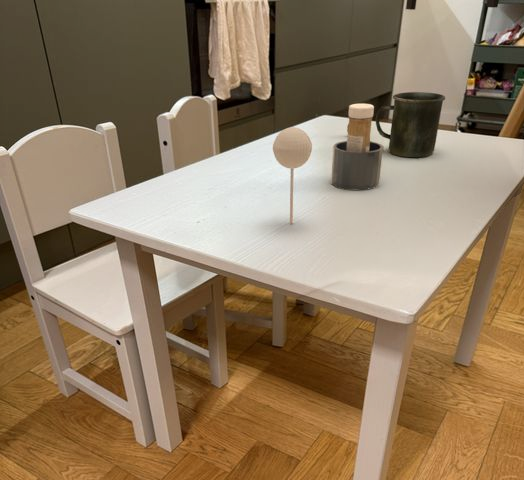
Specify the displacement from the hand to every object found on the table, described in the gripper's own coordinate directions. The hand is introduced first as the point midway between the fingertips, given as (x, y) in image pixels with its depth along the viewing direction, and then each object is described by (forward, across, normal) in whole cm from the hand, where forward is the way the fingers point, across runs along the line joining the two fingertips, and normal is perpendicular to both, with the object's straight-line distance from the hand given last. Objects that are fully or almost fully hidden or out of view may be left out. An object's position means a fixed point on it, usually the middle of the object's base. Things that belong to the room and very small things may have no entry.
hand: (451, 8), depth 82 cm
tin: (+29, +13, -2) cm, 32 cm away
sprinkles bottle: (+28, +13, -2) cm, 31 cm away
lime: (+29, +5, -39) cm, 49 cm away
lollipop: (+29, +28, +18) cm, 44 cm away
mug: (+29, -3, -23) cm, 37 cm away
